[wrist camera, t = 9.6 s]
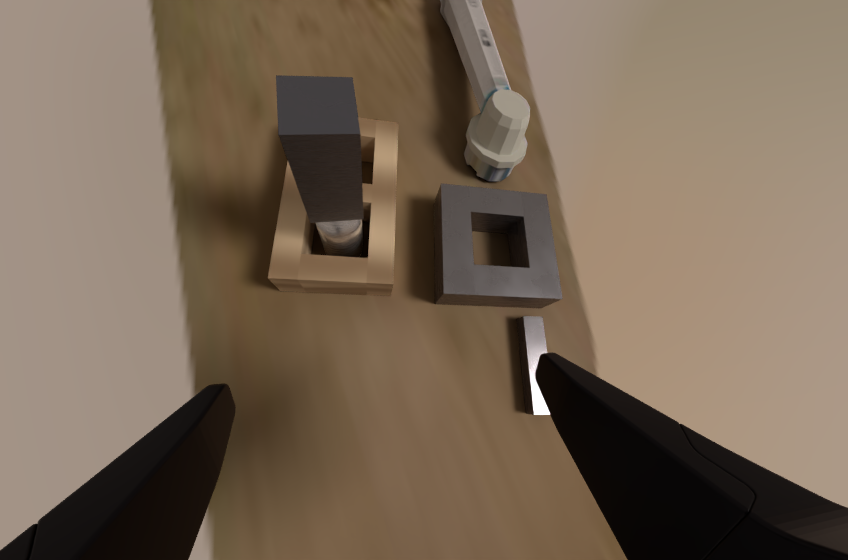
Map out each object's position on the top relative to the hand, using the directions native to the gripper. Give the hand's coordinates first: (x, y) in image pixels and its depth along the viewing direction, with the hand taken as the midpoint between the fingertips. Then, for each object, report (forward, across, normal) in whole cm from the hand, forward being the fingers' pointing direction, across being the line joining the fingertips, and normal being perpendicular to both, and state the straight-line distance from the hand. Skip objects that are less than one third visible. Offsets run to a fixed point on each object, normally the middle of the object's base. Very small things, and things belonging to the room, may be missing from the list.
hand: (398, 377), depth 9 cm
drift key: (+10, -11, +10) cm, 18 cm away
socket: (+16, -9, +3) cm, 19 cm away
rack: (+19, +2, 0) cm, 19 cm away
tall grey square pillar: (+17, +2, +2) cm, 17 cm away
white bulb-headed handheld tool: (+30, -11, -10) cm, 34 cm away
